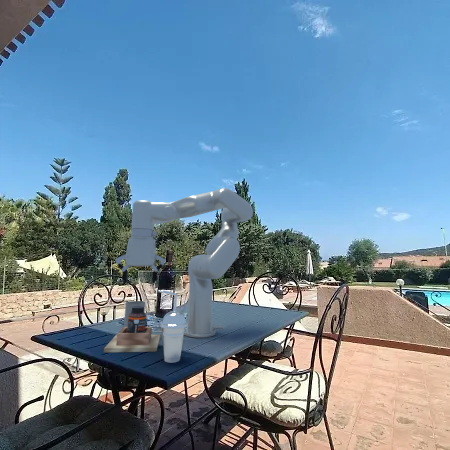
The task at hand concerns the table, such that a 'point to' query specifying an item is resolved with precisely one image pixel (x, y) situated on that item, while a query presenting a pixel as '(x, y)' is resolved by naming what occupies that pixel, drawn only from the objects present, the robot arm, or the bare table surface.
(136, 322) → the supplement bottle
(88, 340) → the table surface
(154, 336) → the bottle holder
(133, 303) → the grey upright block
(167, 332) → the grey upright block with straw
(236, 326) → the table surface
